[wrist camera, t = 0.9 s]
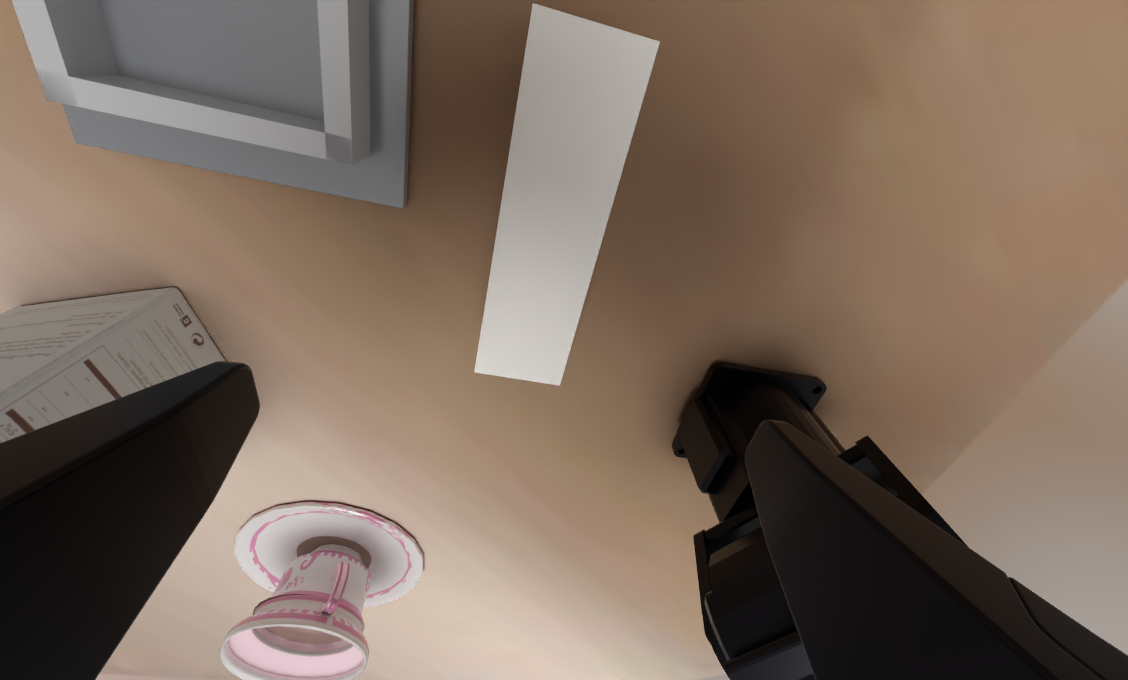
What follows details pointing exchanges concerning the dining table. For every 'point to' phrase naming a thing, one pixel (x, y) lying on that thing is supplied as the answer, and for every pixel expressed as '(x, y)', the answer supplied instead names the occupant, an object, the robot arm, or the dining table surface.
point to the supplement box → (93, 353)
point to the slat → (559, 188)
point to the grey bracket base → (238, 85)
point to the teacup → (315, 590)
